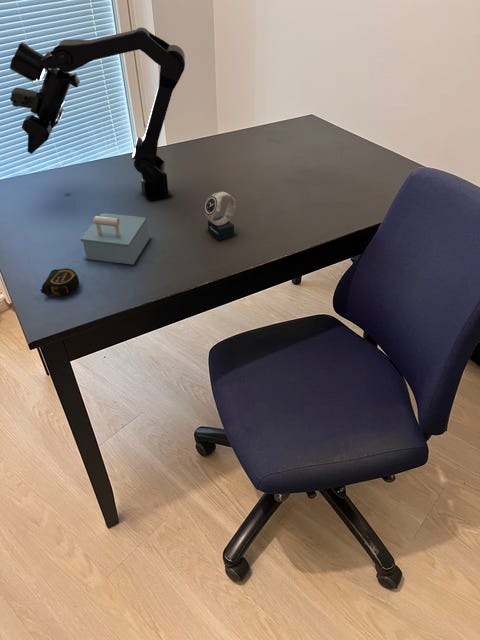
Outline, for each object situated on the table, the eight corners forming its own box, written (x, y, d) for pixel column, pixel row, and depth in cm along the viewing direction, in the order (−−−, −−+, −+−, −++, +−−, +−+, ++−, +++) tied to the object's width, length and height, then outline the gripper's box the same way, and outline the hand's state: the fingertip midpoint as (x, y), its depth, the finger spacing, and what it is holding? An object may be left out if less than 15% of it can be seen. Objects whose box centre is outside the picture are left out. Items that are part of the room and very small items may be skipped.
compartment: (133, 264, 112) (130, 245, 108) (86, 259, 113) (82, 239, 110) (149, 239, 120) (146, 220, 117) (105, 234, 122) (102, 215, 118)
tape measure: (55, 279, 107) (51, 265, 105) (85, 281, 107) (81, 267, 104) (43, 298, 102) (38, 284, 99) (74, 300, 101) (70, 286, 99)
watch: (201, 233, 123) (200, 193, 116) (227, 224, 126) (227, 185, 119) (213, 243, 120) (212, 203, 112) (239, 233, 123) (240, 194, 116)
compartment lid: (128, 247, 108) (125, 227, 104) (80, 241, 109) (76, 221, 106) (146, 220, 117) (144, 201, 114) (102, 215, 118) (98, 196, 115)
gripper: (30, 64, 122) (12, 118, 131) (9, 85, 109) (-9, 143, 117) (72, 88, 127) (53, 138, 135) (57, 111, 113) (37, 166, 121)
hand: (34, 146), depth 127 cm, fingers open, 9 cm apart
